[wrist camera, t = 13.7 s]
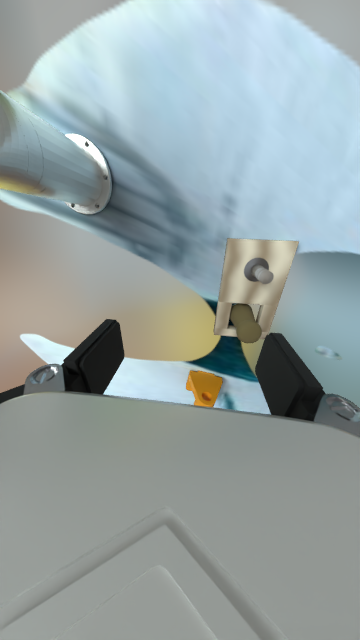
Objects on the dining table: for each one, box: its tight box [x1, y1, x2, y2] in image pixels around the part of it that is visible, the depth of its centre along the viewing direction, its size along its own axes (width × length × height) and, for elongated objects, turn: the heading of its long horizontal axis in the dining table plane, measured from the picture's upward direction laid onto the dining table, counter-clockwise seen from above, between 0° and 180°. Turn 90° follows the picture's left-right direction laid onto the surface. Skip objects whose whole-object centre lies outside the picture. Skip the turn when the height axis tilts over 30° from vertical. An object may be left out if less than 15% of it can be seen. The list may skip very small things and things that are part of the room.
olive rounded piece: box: [229, 303, 262, 343], centre depth 40 cm, size 6×6×11 cm
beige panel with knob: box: [214, 238, 299, 339], centre depth 38 cm, size 14×24×9 cm, turn 178°
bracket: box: [186, 371, 223, 407], centre depth 53 cm, size 11×7×12 cm, turn 79°
